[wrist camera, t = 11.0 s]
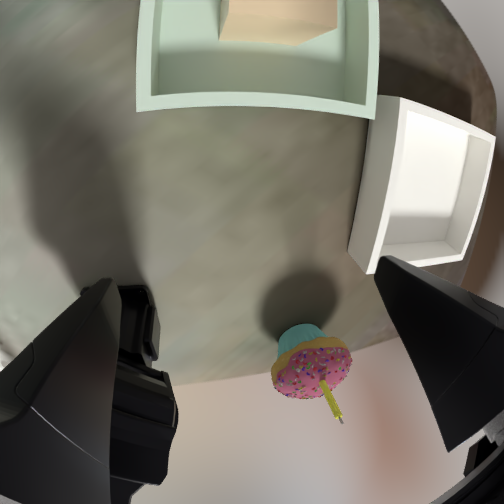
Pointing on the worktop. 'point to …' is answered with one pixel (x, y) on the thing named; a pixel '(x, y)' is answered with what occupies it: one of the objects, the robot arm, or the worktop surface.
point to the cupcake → (310, 364)
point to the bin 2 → (418, 185)
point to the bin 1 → (255, 62)
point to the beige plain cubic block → (276, 20)
